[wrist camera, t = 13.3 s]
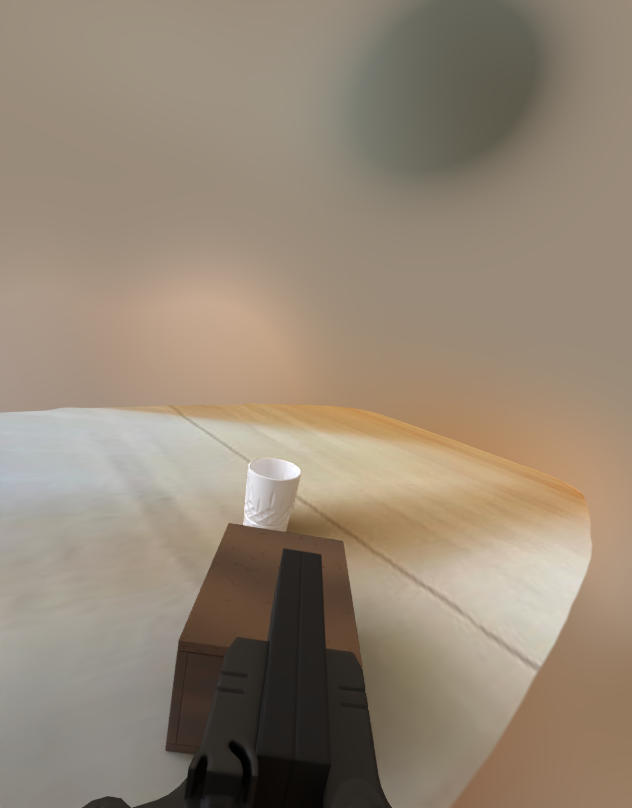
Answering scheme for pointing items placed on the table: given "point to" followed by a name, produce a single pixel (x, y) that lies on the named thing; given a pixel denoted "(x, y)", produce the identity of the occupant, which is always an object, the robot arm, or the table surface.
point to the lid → (264, 591)
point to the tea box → (191, 699)
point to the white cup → (270, 493)
